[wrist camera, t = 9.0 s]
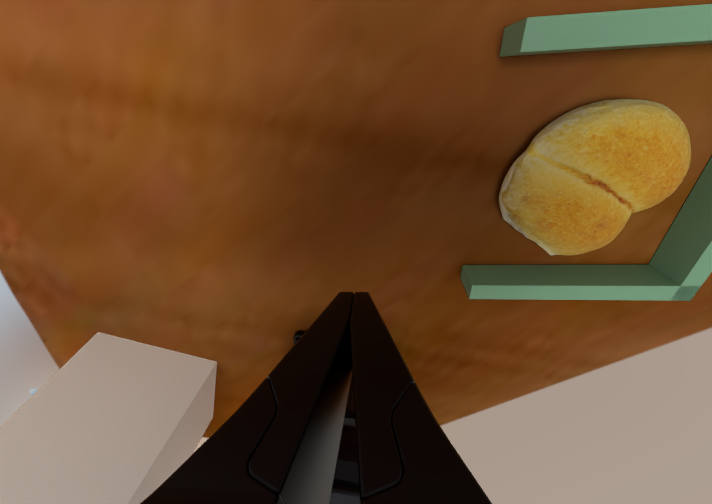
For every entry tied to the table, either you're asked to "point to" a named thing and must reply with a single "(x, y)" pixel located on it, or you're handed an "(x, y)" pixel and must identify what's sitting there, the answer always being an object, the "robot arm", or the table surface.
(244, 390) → the table surface
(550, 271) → the mini golf green
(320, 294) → the table surface
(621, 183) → the bread roll
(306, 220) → the table surface
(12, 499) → the milk
